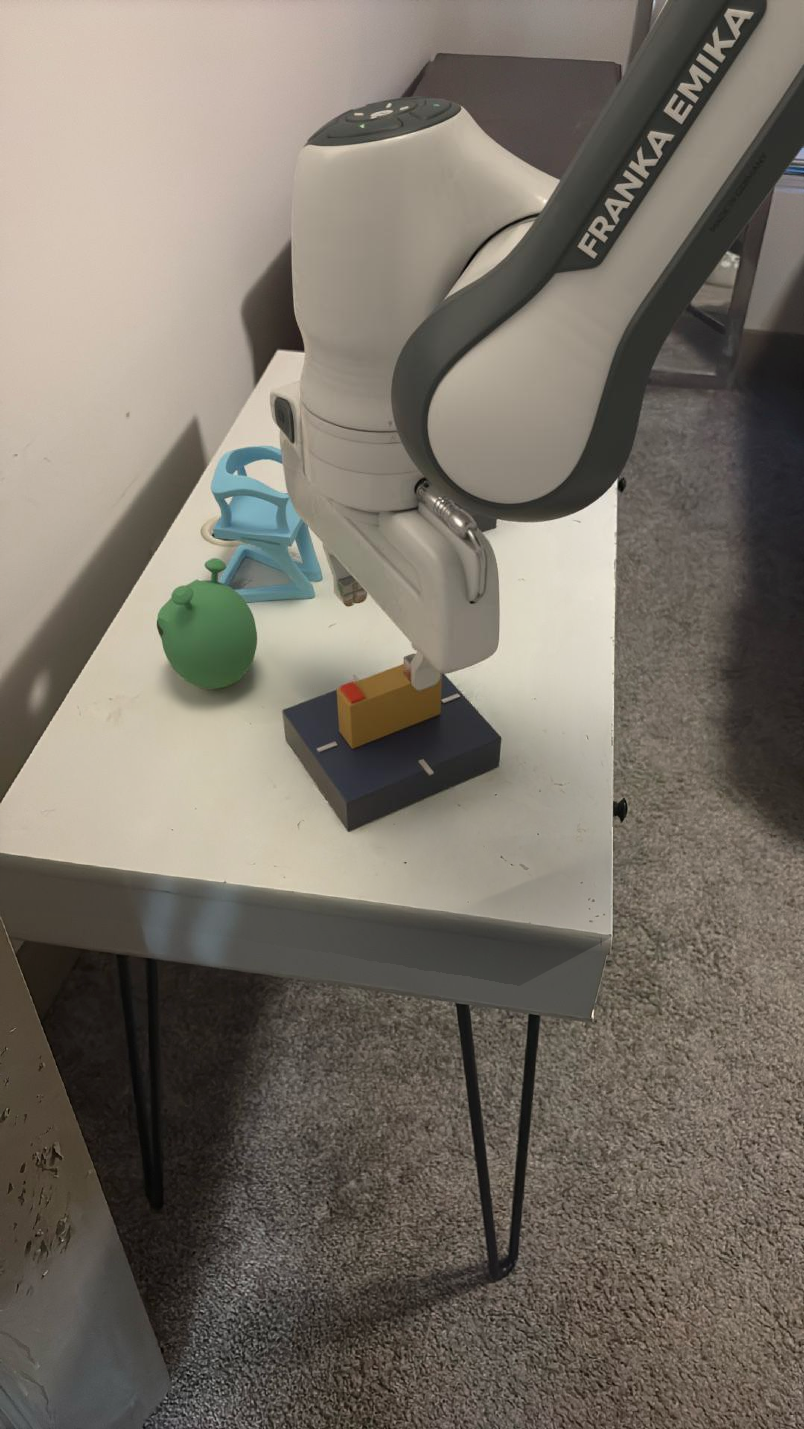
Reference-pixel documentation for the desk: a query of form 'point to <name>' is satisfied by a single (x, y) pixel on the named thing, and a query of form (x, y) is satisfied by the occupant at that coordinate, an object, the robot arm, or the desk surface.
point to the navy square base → (391, 756)
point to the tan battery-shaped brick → (383, 706)
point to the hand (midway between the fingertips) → (384, 638)
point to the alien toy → (208, 631)
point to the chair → (262, 526)
